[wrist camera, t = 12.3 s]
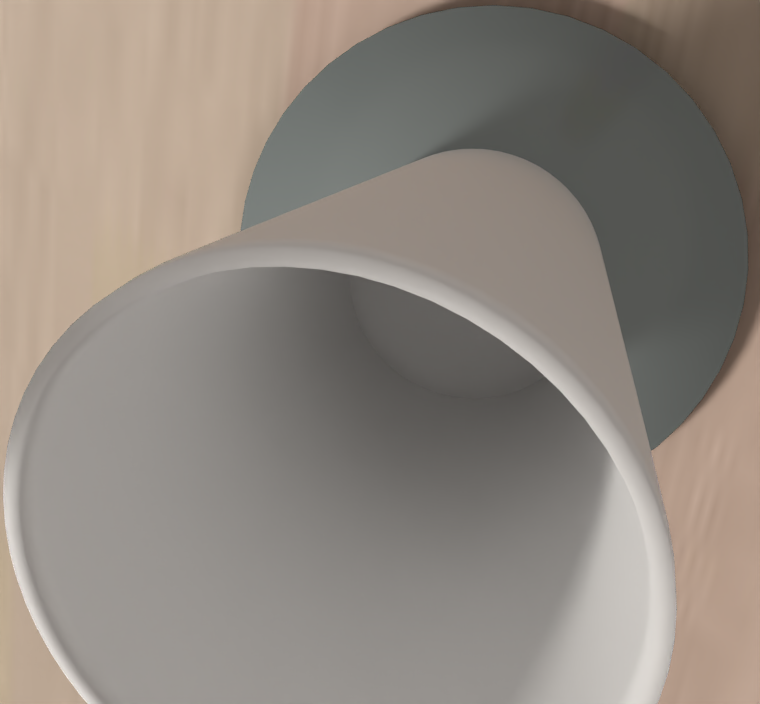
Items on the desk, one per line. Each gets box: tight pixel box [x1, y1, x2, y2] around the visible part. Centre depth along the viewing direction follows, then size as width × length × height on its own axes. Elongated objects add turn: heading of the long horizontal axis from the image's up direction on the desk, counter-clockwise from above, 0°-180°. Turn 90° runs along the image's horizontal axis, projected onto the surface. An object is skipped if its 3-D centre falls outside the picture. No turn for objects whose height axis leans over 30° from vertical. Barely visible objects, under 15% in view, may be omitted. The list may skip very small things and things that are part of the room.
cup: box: [3, 149, 677, 704], centre depth 16 cm, size 8×8×16 cm
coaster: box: [241, 5, 748, 450], centre depth 24 cm, size 16×16×1 cm
